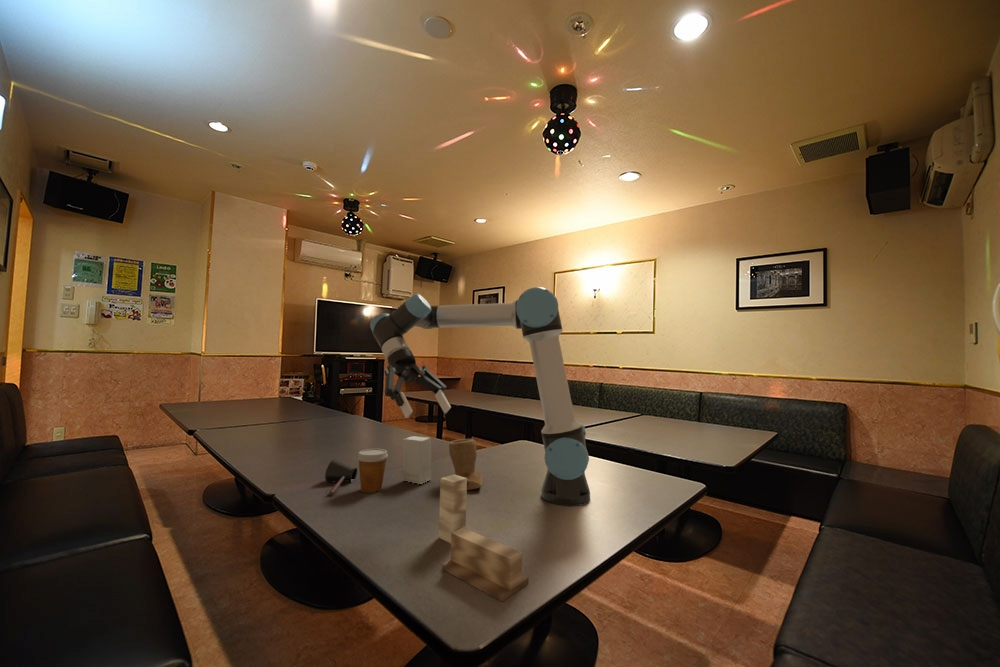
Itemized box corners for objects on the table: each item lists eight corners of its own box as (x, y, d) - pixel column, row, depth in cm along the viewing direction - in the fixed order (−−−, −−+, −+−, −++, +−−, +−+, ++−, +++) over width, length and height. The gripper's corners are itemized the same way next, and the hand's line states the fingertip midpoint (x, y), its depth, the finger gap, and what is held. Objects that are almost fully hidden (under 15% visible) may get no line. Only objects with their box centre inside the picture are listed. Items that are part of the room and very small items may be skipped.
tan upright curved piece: (449, 477, 143) (451, 434, 144) (483, 477, 143) (484, 435, 144) (444, 491, 128) (445, 444, 129) (481, 492, 128) (482, 444, 129)
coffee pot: (333, 476, 140) (357, 480, 139) (305, 501, 122) (332, 506, 122) (336, 455, 139) (360, 460, 139) (308, 477, 121) (335, 483, 121)
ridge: (442, 569, 82) (443, 536, 82) (469, 554, 88) (470, 524, 88) (502, 601, 71) (502, 564, 72) (528, 582, 77) (529, 548, 78)
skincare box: (431, 481, 138) (432, 437, 139) (419, 485, 133) (421, 440, 134) (412, 477, 142) (414, 434, 143) (400, 481, 137) (402, 437, 138)
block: (452, 531, 99) (454, 474, 100) (465, 537, 96) (467, 478, 97) (438, 537, 96) (440, 478, 96) (451, 543, 93) (453, 482, 93)
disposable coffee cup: (393, 488, 129) (394, 451, 130) (369, 497, 121) (370, 456, 122) (373, 483, 135) (374, 446, 135) (349, 490, 127) (350, 452, 127)
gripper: (425, 364, 131) (455, 416, 120) (355, 364, 111) (384, 425, 101) (436, 348, 127) (468, 400, 117) (367, 345, 108) (397, 407, 98)
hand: (429, 412), depth 109 cm, fingers open, 13 cm apart
